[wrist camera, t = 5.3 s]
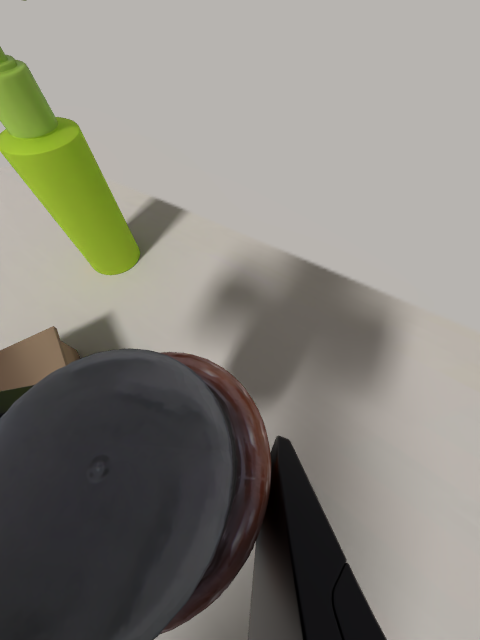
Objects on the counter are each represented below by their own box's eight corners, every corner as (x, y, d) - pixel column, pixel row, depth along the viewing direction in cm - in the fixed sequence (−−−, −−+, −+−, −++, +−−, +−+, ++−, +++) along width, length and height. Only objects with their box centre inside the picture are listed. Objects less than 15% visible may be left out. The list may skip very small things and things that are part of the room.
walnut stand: (-38, 547, 16) (-114, 575, 13) (-48, 407, 20) (-106, 399, 17) (118, 447, 19) (91, 447, 16) (80, 344, 23) (53, 326, 20)
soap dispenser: (151, 266, 29) (15, -22, 11) (92, 280, 27) (-165, -18, 10) (145, 234, 31) (27, -39, 14) (91, 246, 30) (-113, -36, 12)
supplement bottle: (155, 401, 15) (-13, 299, 5) (249, 397, 15) (276, 292, 5) (139, 524, 12) (-385, 930, 2) (256, 517, 12) (358, 847, 2)
